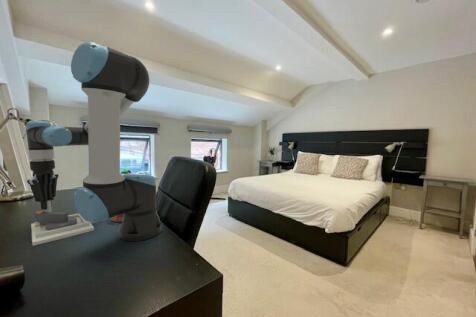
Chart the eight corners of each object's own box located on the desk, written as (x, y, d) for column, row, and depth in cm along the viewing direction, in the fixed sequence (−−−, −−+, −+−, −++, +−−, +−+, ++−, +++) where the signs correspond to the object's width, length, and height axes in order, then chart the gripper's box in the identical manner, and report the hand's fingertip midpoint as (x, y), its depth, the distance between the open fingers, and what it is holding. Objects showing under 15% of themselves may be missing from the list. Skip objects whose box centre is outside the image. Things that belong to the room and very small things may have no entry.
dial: (83, 220, 93) (82, 208, 92) (63, 230, 83) (62, 217, 82) (49, 220, 94) (48, 207, 93) (26, 229, 84) (24, 216, 83)
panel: (94, 230, 87) (93, 223, 86) (32, 245, 74) (31, 237, 74) (83, 216, 102) (83, 210, 102) (31, 226, 90) (30, 220, 89)
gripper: (45, 158, 93) (50, 210, 96) (17, 162, 81) (23, 222, 83) (63, 158, 94) (67, 210, 97) (38, 161, 81) (44, 222, 84)
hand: (47, 216), depth 90 cm, fingers closed
